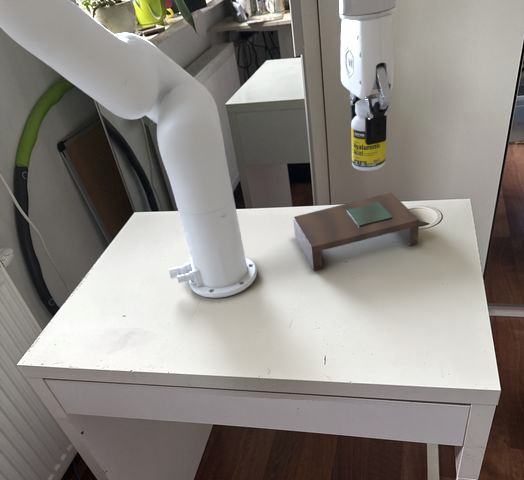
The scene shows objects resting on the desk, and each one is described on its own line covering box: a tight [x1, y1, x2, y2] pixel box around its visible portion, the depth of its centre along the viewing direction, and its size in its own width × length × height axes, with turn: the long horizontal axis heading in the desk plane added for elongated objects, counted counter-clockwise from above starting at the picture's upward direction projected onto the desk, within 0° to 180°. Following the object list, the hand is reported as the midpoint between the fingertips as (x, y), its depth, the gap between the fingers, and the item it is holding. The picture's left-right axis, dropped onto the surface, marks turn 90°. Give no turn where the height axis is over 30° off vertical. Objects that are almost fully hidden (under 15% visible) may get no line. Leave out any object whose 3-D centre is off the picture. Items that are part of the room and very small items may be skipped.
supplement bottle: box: [350, 98, 387, 172], centre depth 82 cm, size 5×5×10 cm
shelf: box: [292, 192, 420, 272], centre depth 98 cm, size 20×12×5 cm, turn 103°
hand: (368, 134), depth 82 cm, fingers closed on supplement bottle, 5 cm apart
